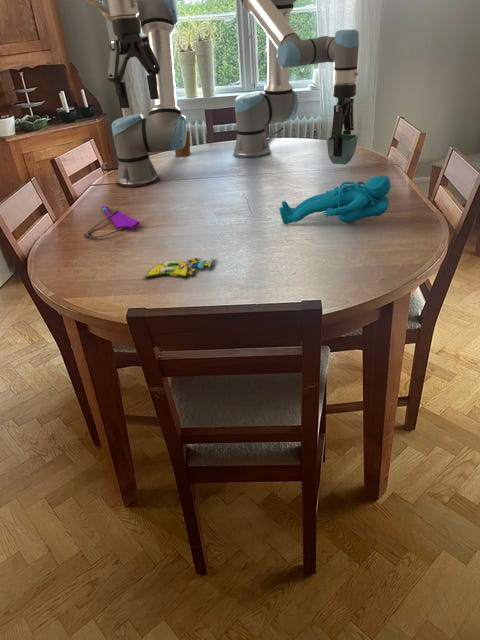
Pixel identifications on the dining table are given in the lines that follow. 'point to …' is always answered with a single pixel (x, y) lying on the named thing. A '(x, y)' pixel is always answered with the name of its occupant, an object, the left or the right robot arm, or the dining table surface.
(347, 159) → the green square planter
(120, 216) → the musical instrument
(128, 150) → the left robot arm
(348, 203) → the toy
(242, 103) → the right robot arm
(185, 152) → the beer glass
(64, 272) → the dining table surface
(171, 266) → the toy
